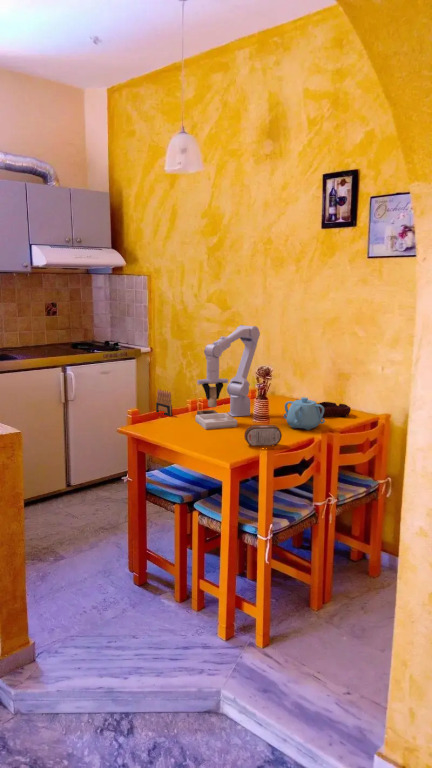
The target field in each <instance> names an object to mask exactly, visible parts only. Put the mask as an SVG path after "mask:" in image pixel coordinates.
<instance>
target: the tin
mask: <svg viewBox="0 0 432 768" xmlns="http://www.w3.org/2000/svg"><path fill="white" fill-rule="evenodd" d="M243 435H244V441H246V443H247V444H248V445H249V446H250V447H273V446H272V445H274V446H276V445H279V443H280V442H281V440H282V436H283V434H282V431H281V430H280V428H279V426H277V425H274V424H253V425H250V426H249V427H247V428H246V430H245V431H244V434H243Z"/></svg>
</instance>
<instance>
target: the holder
mask: <svg viewBox="0 0 432 768" xmlns="http://www.w3.org/2000/svg"><path fill="white" fill-rule="evenodd" d="M217 413H218V412H217V411H216V410H215V409H207V410H197V411H196V415H204V414H217Z"/></svg>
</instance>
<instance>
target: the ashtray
mask: <svg viewBox="0 0 432 768" xmlns="http://www.w3.org/2000/svg"><path fill="white" fill-rule="evenodd" d="M317 404H319V405H322V406H323V407H324V414H323V416H322V418H324V417H341V418H346V417H347V416H348V415H350V413H351V406H349V405H347V404H345V403H339V404H338V405H337V403H336V402H331V401H322V402H318V403H317ZM319 410H320V414H321V413H322V409H321V408H320V407H319Z"/></svg>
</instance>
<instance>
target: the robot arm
mask: <svg viewBox="0 0 432 768" xmlns="http://www.w3.org/2000/svg"><path fill="white" fill-rule="evenodd" d="M260 335H261V332H260V329H259V328H258V327H257V325H254V326H253V325H244V324H240V325H239V326H237V327H236V329H235V330H234V331H233V332H231V333H230V334H229V335H228V336H220V338H219V339H217V340H216V341H213V343H210V344H207V345H206V346H205V348H204V350H203V354H204V356H205V359H206V378H204V379H197V381H196V382H197V383H196V384H197V385H198V386H200V385H201V386H202V387H203V391H204V394H205V398H206V400H207V401H208V400H209V390H210V387H211V385H213V384H214V385H215V387H217V400H219V398H220V394H221V392H222V389H223V388H224V384H227V387H226V392H227V394H228V395H229V397H230V398H229V399H230V403H229V406H230V407H229V411H228V412H226V413H227V414H228V415H230V416H231V417H233V418H234V417H247V416H251V399H250V397H249V396H248V395H249V392H250V382H249V381H248V380H247V379H248V376H249V373H250V369H251V365H252V364H253V359H254V356H255V352H256V349H257V346H258V342H259V339H260ZM237 340H240V341H241V342H242V343H243V344H244V349H243V352H242V355H241V358H240V362H239V364H238V368H237V372H236V375H235V376H234V377H232V378H231V379H230V381H229V379H228V378H220V357H221V356H222V355H223V353H224V351H226V350H227V349H229V348H230V347H231V346H232V345H231V344H232V343H234V342H235V341H237Z"/></svg>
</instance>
